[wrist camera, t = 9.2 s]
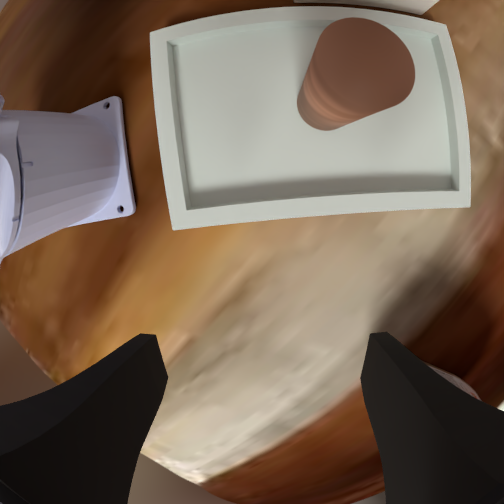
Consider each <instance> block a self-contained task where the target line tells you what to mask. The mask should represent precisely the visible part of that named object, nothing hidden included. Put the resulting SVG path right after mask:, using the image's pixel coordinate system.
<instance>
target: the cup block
mask: <svg viewBox="0 0 504 504" xmlns="http://www.w3.org/2000/svg"><path fill="white" fill-rule="evenodd" d="M293 1H294V3H339V4H353V5H364V6H372V7H380V8H387V9H393V10H398V11H404V12H409V13H413V14H418V15H422V14H423V13H424V12H426V11H427V10H428V9H429V8H430V7H432V6H433V5H434V4H435V3H437V2H438V1H439V0H293Z"/></svg>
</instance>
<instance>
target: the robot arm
mask: <svg viewBox="0 0 504 504" xmlns="http://www.w3.org/2000/svg"><path fill="white" fill-rule="evenodd" d="M108 103H110V106H109V108H108V109H107V108H106V106H107V104H108ZM3 105H4V98H3V96H1V95H0V263H1V261H2V259H3V258H4V257H5V256H7V255H9V254H11V253H13V252H15V251H17V250H19V249H21V248H23V247H25V246H27V245H29V244H31V243H33V242H35V241H37V240H39V239H41V238H43V237H45V236H47V235H49V234H52V233H54V232H56V231H58V230H60V229H63V228H65V227H70V226H75V225H80V224H85V223H90V222H96V221H101V220H106V219H112V218H118V217H123V216H129V215H131V214H133V213H134V212H135V210H136V205H135V199H134V194H133V188H132V182H131V175H130V169H129V162H128V155H127V147H126V139H125V130H124V120H123V109H122V100H121V98H120V97H117V96H112V97H110V98H107V99H104V100H102V101H99V102H97V103H94V104H92V105H89V106H87V107H85V108H82V109H80V110H78V111H75V112H73V113H60V112H46V111H27V110H2V108H3ZM120 206H123V208H124V211H123V212H122V211H121V210H120ZM360 379H361V384H362V391H363V396H364V402H365V405H366V409H367V412H368V415H369V419H370V422H371V425H372V428H373V432H374V435H375V438H376V442H377V445H378V449H379V452H380V457H381V461H382V467H383V474H384V483H385V494H386V504H504V411H502V410H499V409H497V408H495V407H493V406H491V405H488V404H486V403H484V402H482V401H480V400H478V399H477V398H475V397H473V396H471V395H470V394H468V393H466V392H465V391H463V390H461V389H460V388H458V387H456V386H455V385H453V384H452V383H451V382H449V381H448V380H446V379H445V378H444V377H442V376H441V375H439V374H438V373H437V372H435V371H434V370H433V369H431V368H430V367H429V366H428V365H426V364H425V363H424V362H423V361H421V360H420V359H419V358H418V357H417V356H415V355H414V354H413V353H412V352H411V351H409V350H408V349H407V348H406V347H405V346H403V345H402V344H401V343H400V342H399V341H397V340H396V339H395V338H394V337H393V336H391V335H390V334H389V333H387V332H382V333H371V334H370V336H369V341H368V346H367V351H366V356H365V360H364V365H363V369H362V373H361V378H360ZM167 380H168V375H167V372H166V369H165V365H164V362H163V359H162V355H161V352H160V348H159V345H158V341H157V338H156V335H153V334H139V335H137V336H135V337H134V338H132V339H131V340H129V341H128V342H126V343H125V344H123V345H122V346H120V347H119V348H117V349H116V350H115V351H113V352H112V353H110V354H109V355H107V356H106V357H104V358H103V359H101V360H100V361H99V362H97V363H96V364H94V365H92V366H91V367H89V368H88V369H86V370H84V371H83V372H81V373H79V374H78V375H76V376H75V377H73V378H71V379H69V380H68V381H66V382H64V383H62V384H60V385H58V386H56V387H54V388H52V389H50V390H47V391H45V392H43V393H40V394H38V395H35V396H32V397H29V398H27V399H24V400H21V401H17V402H14V403H10V404H6V405H2V406H0V504H127V503H128V497H129V492H130V487H131V483H132V478H133V474H134V471H135V467H136V463H137V460H138V456H139V454H140V451H141V448H142V446H143V443H144V441H145V439H146V436H147V434H148V432H149V430H150V427H151V425H152V423H153V420H154V418H155V416H156V413H157V411H158V409H159V406H160V404H161V402H162V399H163V395H164V392H165V388H166V384H167Z"/></svg>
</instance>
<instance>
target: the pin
mask: <svg viewBox="0 0 504 504" xmlns="http://www.w3.org/2000/svg"><path fill="white" fill-rule="evenodd" d="M414 82H415V66H414V62H413V59H412V56H411V54H410V52H409V50H408V48H407V47H406V45H405V44H404V43H403V41H402V40H401V39H400V38H399V37H398V36H397V35H396V34H395V33H394V32H392V31H391V30H390V29H388V28H387V27H385V26H384V25H382V24H380V23H378V22H375V21H372V20H369V19H365V18H358V17H350V18H344V19H340V20H337V21H335V22H333V23H331V24H330V25H329V26H327V27H326V28H325V29H324V30H323V32H322V33H321V35H320V37H319V39H318V42H317V44H316V47H315V50H314V53H313V55H312V58H311V61H310V64H309V66H308V69H307V72H306V75H305V77H304V80H303V83H302V86H301V89H300V91H299V94H298V97H297V108H298V112H299V114H300V116H301V117H302V119H303V120H304V121H305V122H306V123H307V124H308V125H310V126H311V127H313V128H315V129H318V130H322V131H331V130H335V129H338V128H340V127H342V126H345V125H347V124H350V123H352V122H355V121H357V120H359V119H362V118H365V117H367V116H370V115H372V114H375V113H377V112H380V111H383V110H385V109H388V108H391V107H393V106H396V105H398V104H400V103H401V102H402V101H404V100H405V99H406V98H407V97H408V96H409V94H410V93H411V91H412V89H413V86H414Z"/></svg>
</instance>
